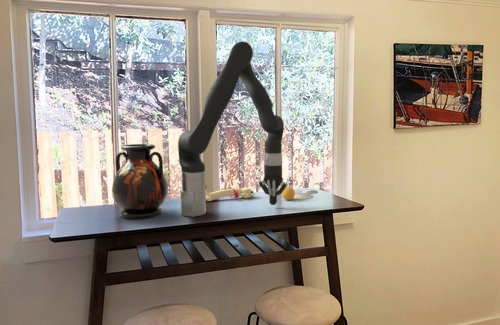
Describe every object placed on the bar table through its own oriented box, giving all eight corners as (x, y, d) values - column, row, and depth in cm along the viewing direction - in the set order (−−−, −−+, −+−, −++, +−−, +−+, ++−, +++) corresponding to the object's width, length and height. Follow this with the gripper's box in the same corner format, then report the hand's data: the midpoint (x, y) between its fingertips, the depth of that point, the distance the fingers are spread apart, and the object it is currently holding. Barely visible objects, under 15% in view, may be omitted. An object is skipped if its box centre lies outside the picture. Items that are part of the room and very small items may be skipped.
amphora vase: (103, 221, 162) (99, 147, 159) (127, 208, 183) (123, 143, 180) (158, 222, 159) (155, 147, 156) (175, 209, 181) (173, 143, 177)
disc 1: (306, 200, 195) (306, 200, 195) (278, 197, 201) (278, 197, 201) (317, 194, 207) (317, 194, 207) (290, 192, 214) (290, 192, 214)
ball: (291, 200, 192) (293, 186, 192) (279, 198, 194) (280, 185, 195) (296, 201, 197) (297, 188, 198) (283, 199, 200) (285, 187, 200)
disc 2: (313, 194, 208) (313, 194, 208) (294, 192, 213) (294, 192, 213) (320, 191, 216) (320, 190, 216) (301, 189, 221) (301, 189, 221)
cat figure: (205, 207, 191) (257, 198, 199) (203, 187, 189) (256, 179, 197) (200, 202, 200) (250, 194, 208) (198, 184, 199) (249, 176, 207)
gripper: (254, 163, 178) (255, 204, 180) (283, 165, 172) (283, 208, 174) (263, 161, 185) (263, 201, 187) (291, 163, 178) (291, 204, 181)
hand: (273, 204), depth 180 cm, fingers closed
